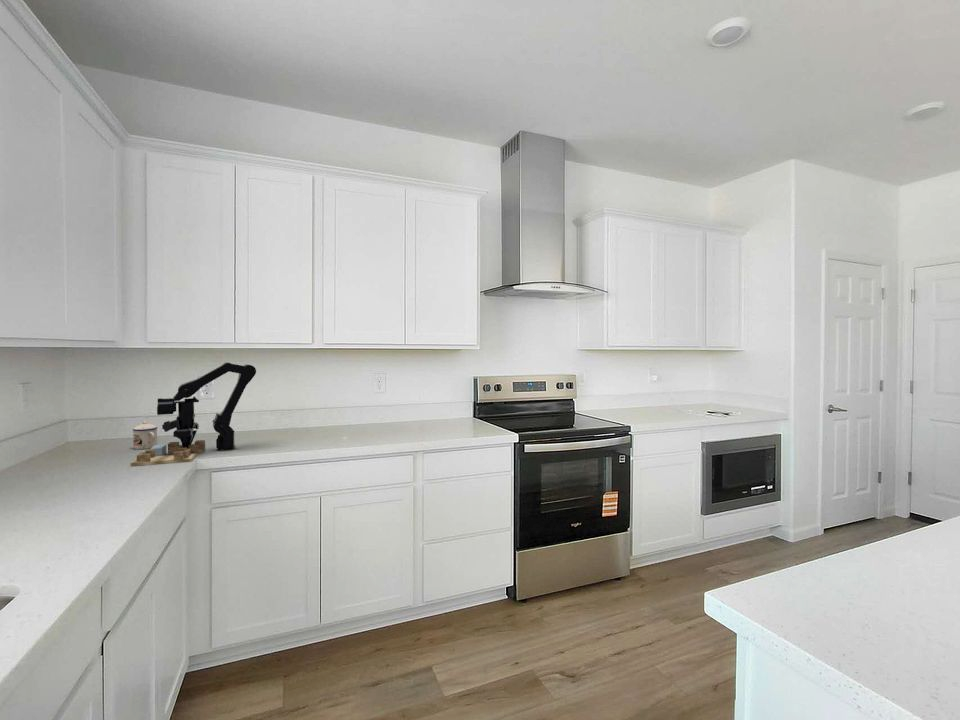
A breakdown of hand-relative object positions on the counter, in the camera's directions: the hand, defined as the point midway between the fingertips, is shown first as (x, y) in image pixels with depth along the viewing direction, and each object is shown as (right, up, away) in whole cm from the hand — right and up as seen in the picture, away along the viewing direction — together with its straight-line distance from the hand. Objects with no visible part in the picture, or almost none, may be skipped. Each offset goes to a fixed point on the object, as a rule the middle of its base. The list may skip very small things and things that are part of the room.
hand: (186, 449), depth 198 cm
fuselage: (0, -2, 0) cm, 2 cm away
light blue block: (-9, -2, -5) cm, 10 cm away
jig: (0, -2, -14) cm, 14 cm away
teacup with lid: (-24, -1, +10) cm, 26 cm away
